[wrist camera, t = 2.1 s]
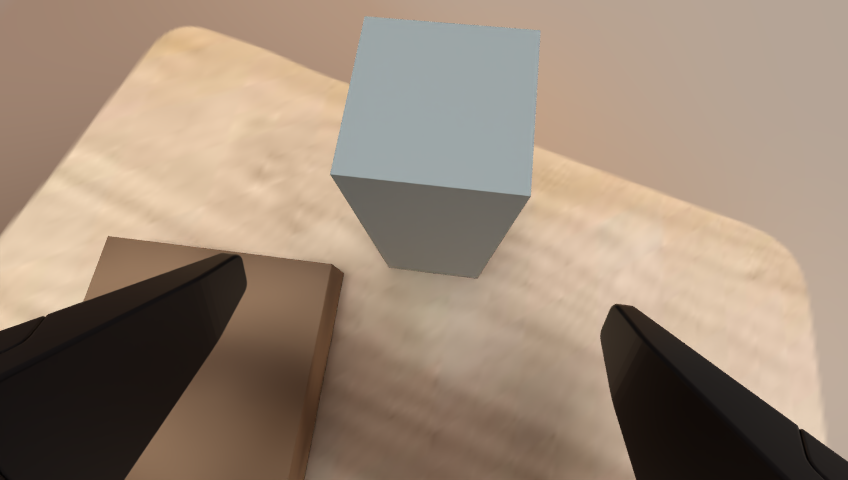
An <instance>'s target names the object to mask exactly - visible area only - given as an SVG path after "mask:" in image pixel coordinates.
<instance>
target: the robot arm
mask: <svg viewBox="0 0 848 480" xmlns="http://www.w3.org/2000/svg"><path fill="white" fill-rule="evenodd" d="M246 288H247V278H246V273H245V268H244V264H243V260H242V257H241V256H240V255H238V254H233V253H225V252H224V253H219V254H217V255H214V256H211V257H208V258H205V259H203V260H200V261H197V262H194V263H191V264H188V265H186V266H183V267H180V268H177V269H174V270H172V271H169V272H166V273H163V274H160V275H157V276H155V277H152V278H149V279H146V280H143V281H141V282H138V283H135V284H132V285H129V286H126V287H124V288H121V289H118V290H115V291H112V292H109V293H107V294H104V295H101V296H98V297H95V298H93V299H90V300H87V301H84V302H81V303H78V304H76V305H73V306H70V307H67V308H64V309H62V310H59V311H56V312H53V313H50V314H48V315H47V316H46V317H45V316H42V317H39V318H36V319H33V320H30V321H27V322H25V323H22V324H19V325H16V326H13V327H10V328H7V329H4V330H2V331H0V480H125V478H126V477H127V475H128V474H129V472H130V471H131V469H132V468H133V467H134V465H135V464H136V462H137V461H138V459H139V458H140V456H141V455H142V453H143V452H144V450H145V449H146V447H147V446H148V444H149V443H150V442H151V440H152V439H153V437H154V436H155V434H156V433H157V431H158V430H159V428H160V427H161V425H162V424H163V422H164V421H165V419H166V418H167V416H168V415H169V414H170V412H171V411H172V409H173V408H174V406H175V405H176V403H177V402H178V400H179V399H180V397H181V396H182V394H183V393H184V391H185V390H186V389H187V387H188V386H189V384H190V383H191V381H192V380H193V378H194V377H195V375H196V374H197V372H198V371H199V369H200V368H201V366H202V365H203V363H204V362H205V361H206V359H207V358H208V356H209V355H210V353H211V352H212V350H213V349H214V347H215V346H216V344H217V342H218V341H219V339H220V337H221V336H222V334H223V332H224V330H225V328H226V326H227V325H228V323H229V321H230V319H231V317H232V315H233V313H234V311H235V310H236V308H237V306H238V304H239V302H240V300H241V298H242V296H243V295H244V293H245V291H246ZM600 339H601V345H602V350H603V356H604V361H605V366H606V372H607V377H608V382H609V388H610V393H611V397H612V402H613V405H614V409H615V412H616V415H617V419H618V422H619V425H620V428H621V432H622V435H623V438H624V441H625V445H626V448H627V451H628V454H629V458H630V461H631V464H632V467H633V471H634V474H635V477H636V480H848V461H846V460H845V459H843V458H842V457H841V456H839V455H838V454H836V453H835V452H834V451H832V450H831V449H829V448H828V447H827V446H825V445H824V444H822V443H821V442H820V441H818V440H817V439H816V438H814V437H813V436H812V435H810V434H809V433H807V432H806V431H805V430H803V429H799V427H798V426H797V425H796V424H795V423H794V422H792V421H791V420H789V419H788V418H787V417H785V416H784V415H783V414H781V413H780V412H778V411H777V410H776V409H774V408H773V407H771V406H770V405H769V404H767V403H766V402H765V401H763V400H762V399H760V398H759V397H758V396H756V395H755V394H754V393H752V392H751V391H749V390H748V389H747V388H745V387H744V386H743V385H741V384H740V383H738V382H737V381H736V380H734V379H733V378H732V377H730V376H729V375H727V374H726V373H725V372H723V371H722V370H721V369H719V368H718V367H716V366H715V365H714V364H712V363H711V362H709V361H708V360H707V359H705V358H704V357H703V356H701V355H700V354H698V353H697V352H696V351H694V350H693V349H692V348H690V347H689V346H687V345H686V344H685V343H683V342H682V341H681V340H679V339H678V338H676V337H675V336H674V335H672V334H671V333H670V332H668V331H667V330H665V329H664V328H663V327H661V326H660V325H659V324H657V323H656V322H654V321H653V320H652V319H650V318H649V317H648V316H646V315H645V314H643V313H642V312H641V311H639V310H638V309H637V308H635V307H633V306H629V305H622V304H615V305H613V306H612V307H611V309H610V311H609V313H608V315H607V318H606V320H605V322H604V325H603V327H602V330H601V335H600Z"/></svg>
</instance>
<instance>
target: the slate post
mask: <svg viewBox="0 0 848 480" xmlns="http://www.w3.org/2000/svg"><path fill="white" fill-rule="evenodd" d="M539 45H540V30H529V29H516V28H503V27H491V26H479V25H465V24H454V23H441V22H429V21H416V20H402V19H390V18H378V17H365V18H364V22H363V27H362V32H361V36H360V40H359V45H358V49H357V54H356V59H355V63H354V68H353V72H352V77H351V82H350V86H349V91H348V95H347V100H346V104H345V109H344V114H343V118H342V123H341V127H340V132H339V136H338V141H337V146H336V150H335V155H334V159H333V164H332V168H331V173H330V175H331V176H332V178H333V179H334V181H335V183H336V184H337V186H338V187H339V189H340V191H341V192H342V194H343V195H344V197H345V198H346V200H347V202H348V203H349V205H350V206H351V208H352V210H353V211H354V213H355V214H356V216H357V217H358V219H359V221H360V222H361V224H362V225H363V227H364V229H365V230H366V232H367V233H368V235H369V236H370V238H371V240H372V241H373V243H374V244H375V246H376V248H377V249H378V251H379V252H380V254H381V255H382V257H383V259H384V260H385V262H386V263H387V265H388V267H389V268H397V269H405V270H413V271H421V272H429V273H437V274H445V275H453V276H461V277H469V278H478V276H479V275H480V273H481V272H482V270H483V268H484V267H485V265H486V264H487V262H488V261H489V259H490V258H491V256H492V255H493V253H494V252H495V250H496V249H497V247H498V245H499V244H500V242H501V241H502V239H503V238H504V236H505V235H506V233H507V232H508V230H509V229H510V227H511V226H512V224H513V223H514V221H515V219H516V218H517V216H518V215H519V213H520V212H521V210H522V209H523V207H524V206H525V204H526V203H527V201H528V200H529V198H530V196H531V182H532V165H533V148H534V131H535V114H536V97H537V80H538V62H539V47H540V46H539Z"/></svg>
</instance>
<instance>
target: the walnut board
mask: <svg viewBox="0 0 848 480" xmlns="http://www.w3.org/2000/svg"><path fill="white" fill-rule="evenodd" d="M224 252H225V253H233V254H238V255H240V256H241V257H242V260H243V264H244V268H245V273H246V278H247V288H246V291H245V293H244V295H243V296H242V298H241V300H240V302H239V304H238V306H237V308H236V310H235V311H234V313H233V315H232V317H231V319H230V321H229V323H228V325H227V326H226V328H225V330H224V332H223V334H222V336H221V337H220V339H219V341H218V342H217V344H216V346H215V347H214V349H213V350H212V352H211V353H210V355H209V356H208V358H207V359H206V361H205V362H204V363H203V365H202V366H201V368H200V369H199V371H198V372H197V374H196V375H195V377H194V378H193V380H192V381H191V383H190V384H189V386H188V387H187V389H186V390H185V391H184V393H183V394H182V396H181V397H180V399H179V400H178V402H177V403H176V405H175V406H174V408H173V409H172V411H171V412H170V414H169V415H168V416H167V418H166V419H165V421H164V422H163V424H162V425H161V427H160V428H159V430H158V431H157V433H156V434H155V436H154V437H153V439H152V440H151V442H150V443H149V444H148V446H147V447H146V449H145V450H144V452H143V453H142V455H141V456H140V458H139V459H138V461H137V462H136V464H135V465H134V467H133V468H132V469H131V471H130V472H129V474H128V475H127V477H126V478H125V480H304V477H305V472H306V467H307V461H308V456H309V451H310V446H311V441H312V435H313V430H314V425H315V420H316V415H317V409H318V404H319V399H320V394H321V389H322V384H323V378H324V373H325V368H326V363H327V358H328V352H329V347H330V342H331V337H332V332H333V326H334V321H335V316H336V311H337V306H338V300H339V295H340V290H341V285H342V280H343V275H344V273H343V272H341V271H340V270H339V269H337V268H336V267H335V266H333V265H332V264H325V263H317V262H309V261H301V260H294V259H286V258H278V257H270V256H262V255H254V254H246V253H238V252H230V251H222V250H214V249H206V248H198V247H190V246H182V245H174V244H166V243H158V242H150V241H142V240H135V239H127V238H119V237H111V236H108V238H107V240H106V243H105V246H104V248H103V251H102V254H101V256H100V259H99V261H98V264H97V267H96V269H95V272H94V275H93V277H92V280H91V283H90V285H89V288H88V291H87V293H86V296H85V299H84V301H87V300H90V299H93V298H95V297H98V296H101V295H104V294H107V293H109V292H112V291H115V290H118V289H121V288H124V287H126V286H129V285H132V284H135V283H138V282H141V281H143V280H146V279H149V278H152V277H155V276H157V275H160V274H163V273H166V272H169V271H172V270H174V269H177V268H180V267H183V266H186V265H188V264H191V263H194V262H197V261H200V260H203V259H205V258H208V257H211V256H214V255H217V254H219V253H224ZM84 301H83V302H84Z"/></svg>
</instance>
